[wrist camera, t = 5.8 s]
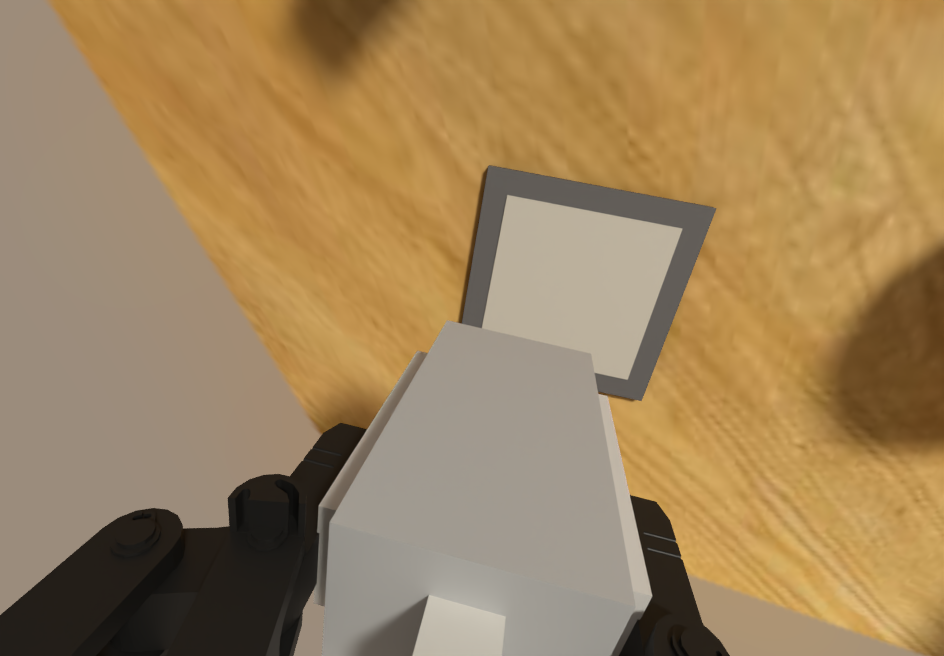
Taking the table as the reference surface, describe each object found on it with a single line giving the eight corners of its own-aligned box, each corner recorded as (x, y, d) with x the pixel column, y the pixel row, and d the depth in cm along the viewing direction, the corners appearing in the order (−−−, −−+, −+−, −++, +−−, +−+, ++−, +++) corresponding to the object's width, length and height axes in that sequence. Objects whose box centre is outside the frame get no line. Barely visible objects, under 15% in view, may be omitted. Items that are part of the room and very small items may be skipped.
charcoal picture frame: (489, 165, 28) (488, 166, 28) (712, 207, 27) (716, 208, 27) (457, 356, 34) (455, 360, 33) (639, 396, 33) (641, 401, 32)
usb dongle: (447, 320, 14) (254, 650, 5) (591, 353, 13) (664, 774, 5) (427, 435, 16) (263, 826, 7) (554, 467, 15) (555, 924, 6)
